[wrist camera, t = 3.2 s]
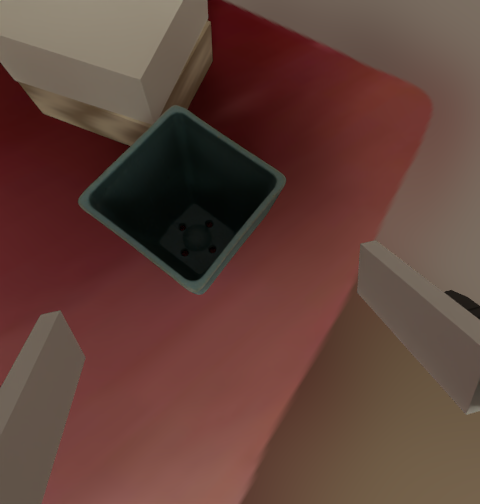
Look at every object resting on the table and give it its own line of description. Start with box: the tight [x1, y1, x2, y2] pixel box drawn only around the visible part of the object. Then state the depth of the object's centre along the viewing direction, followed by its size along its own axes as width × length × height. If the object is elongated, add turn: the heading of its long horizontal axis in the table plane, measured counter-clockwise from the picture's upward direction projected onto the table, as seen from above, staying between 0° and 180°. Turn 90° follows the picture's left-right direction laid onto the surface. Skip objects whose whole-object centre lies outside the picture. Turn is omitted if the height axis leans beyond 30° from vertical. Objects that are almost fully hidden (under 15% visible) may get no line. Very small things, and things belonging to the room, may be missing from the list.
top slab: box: [0, 0, 208, 125], centre depth 25 cm, size 12×12×4 cm
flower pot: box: [78, 105, 286, 295], centre depth 22 cm, size 9×9×9 cm
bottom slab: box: [18, 21, 213, 146], centre depth 29 cm, size 12×12×4 cm
